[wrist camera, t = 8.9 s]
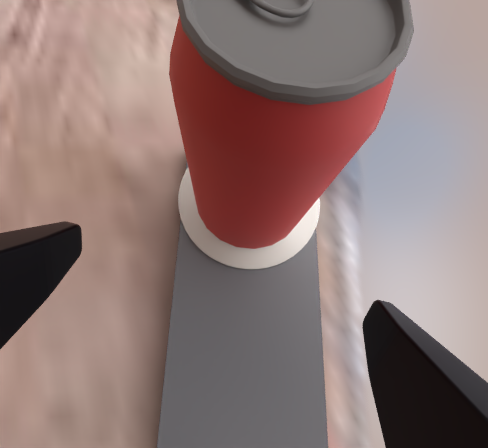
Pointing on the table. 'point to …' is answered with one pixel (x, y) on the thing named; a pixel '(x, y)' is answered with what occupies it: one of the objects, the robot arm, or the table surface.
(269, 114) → the beer can
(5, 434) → the table surface
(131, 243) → the table surface
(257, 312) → the charging dock
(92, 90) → the table surface
